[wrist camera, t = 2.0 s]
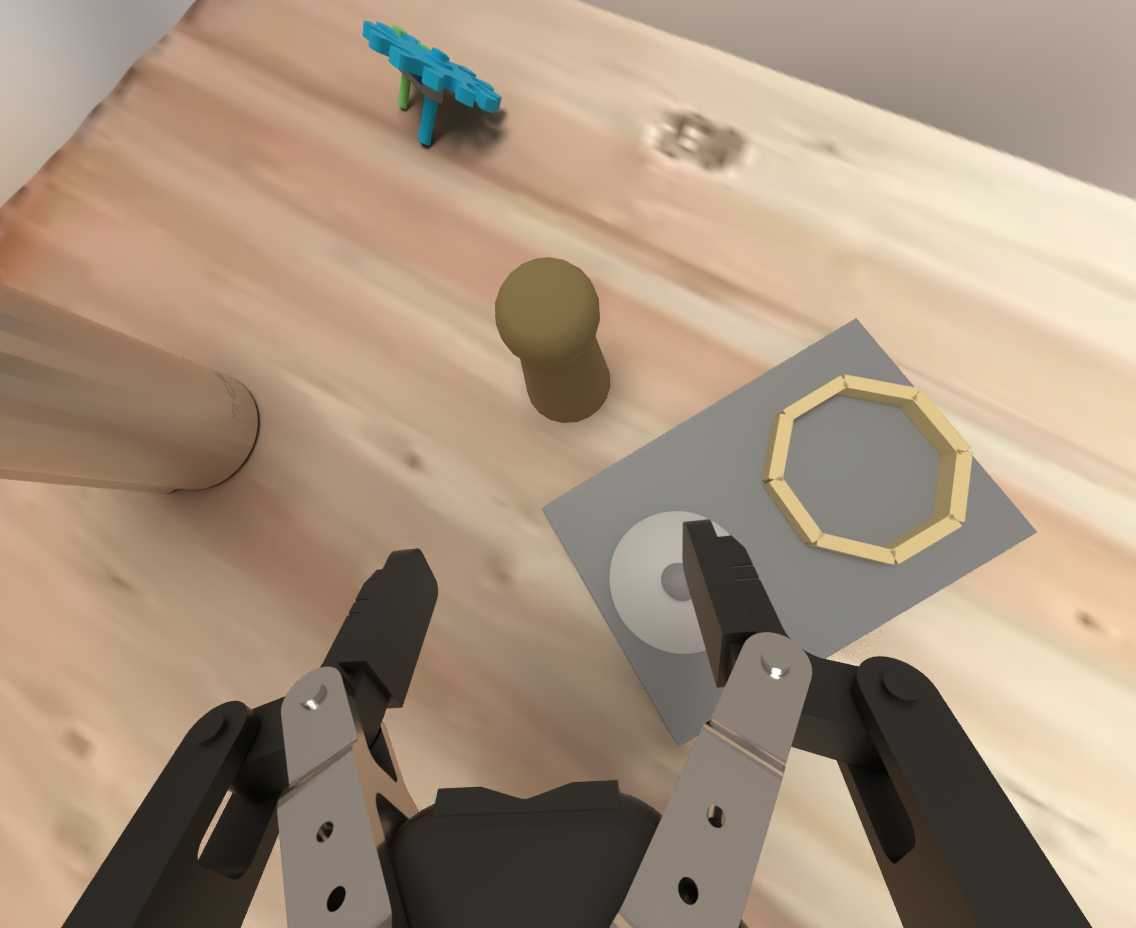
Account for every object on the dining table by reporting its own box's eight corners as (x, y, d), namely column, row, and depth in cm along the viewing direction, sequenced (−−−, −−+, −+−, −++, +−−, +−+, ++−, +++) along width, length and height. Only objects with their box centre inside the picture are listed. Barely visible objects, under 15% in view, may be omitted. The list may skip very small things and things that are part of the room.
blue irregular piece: (527, 107, 32) (403, 48, 25) (502, 187, 36) (389, 155, 29) (460, 48, 36) (336, -17, 29) (444, 126, 40) (331, 86, 33)
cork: (566, 327, 30) (539, 211, 19) (628, 377, 29) (636, 284, 18) (509, 386, 30) (451, 302, 19) (570, 440, 29) (543, 382, 18)
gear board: (674, 736, 25) (685, 771, 21) (544, 508, 28) (534, 505, 24) (1017, 532, 25) (1086, 531, 21) (846, 327, 28) (880, 296, 24)
